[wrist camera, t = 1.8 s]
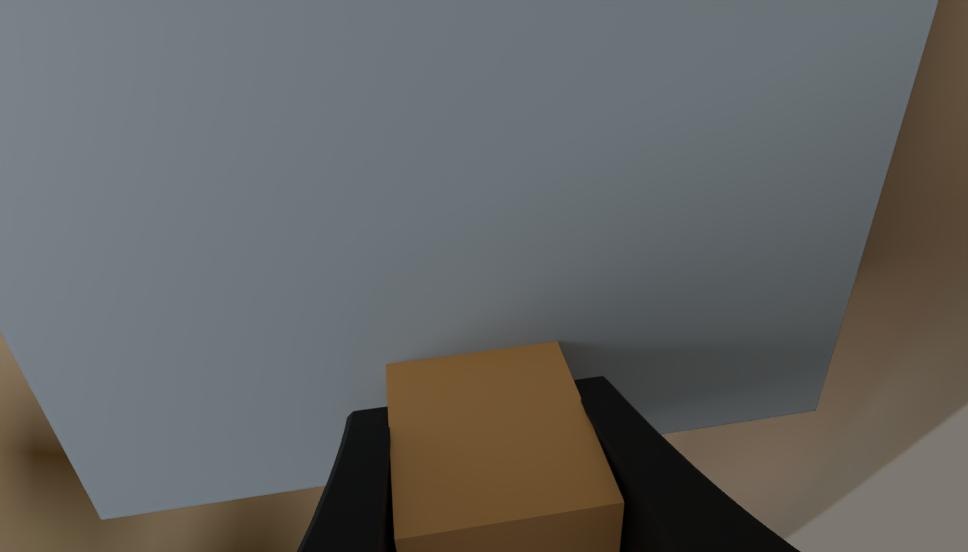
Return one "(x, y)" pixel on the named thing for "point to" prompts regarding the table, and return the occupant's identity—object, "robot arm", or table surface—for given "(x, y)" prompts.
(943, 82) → the table surface
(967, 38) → the table surface
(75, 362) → the carton lid
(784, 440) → the table surface
